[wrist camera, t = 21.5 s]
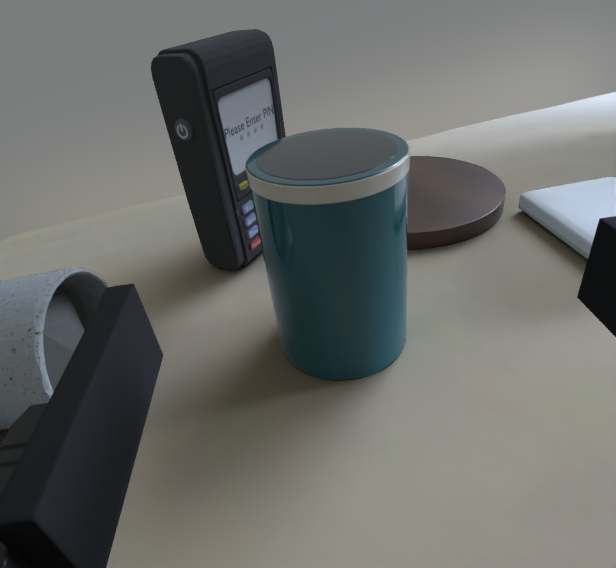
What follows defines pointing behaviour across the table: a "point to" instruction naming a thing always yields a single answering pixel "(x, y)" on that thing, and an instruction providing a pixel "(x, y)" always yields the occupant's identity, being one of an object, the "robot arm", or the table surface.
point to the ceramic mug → (41, 333)
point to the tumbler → (335, 246)
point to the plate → (450, 201)
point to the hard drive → (572, 210)
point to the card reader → (220, 132)
